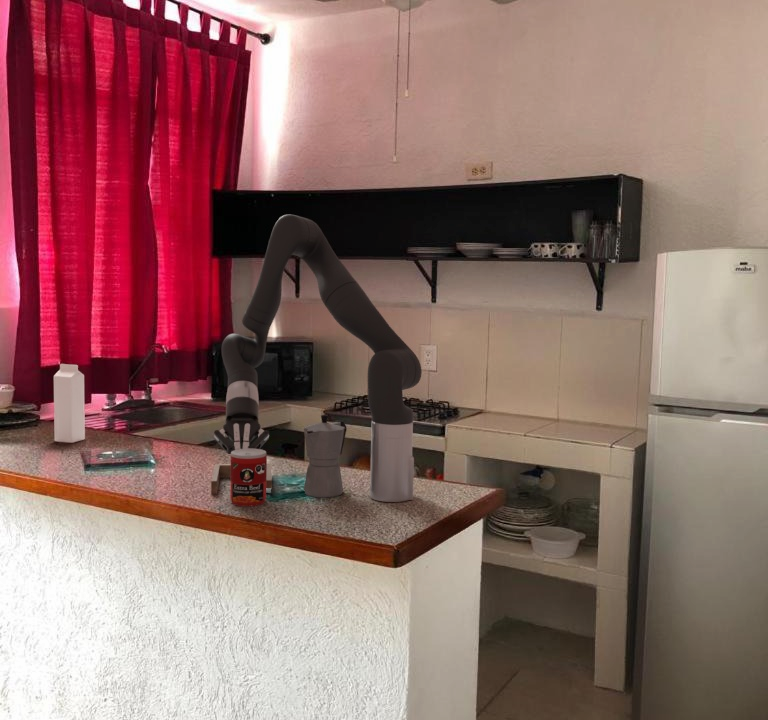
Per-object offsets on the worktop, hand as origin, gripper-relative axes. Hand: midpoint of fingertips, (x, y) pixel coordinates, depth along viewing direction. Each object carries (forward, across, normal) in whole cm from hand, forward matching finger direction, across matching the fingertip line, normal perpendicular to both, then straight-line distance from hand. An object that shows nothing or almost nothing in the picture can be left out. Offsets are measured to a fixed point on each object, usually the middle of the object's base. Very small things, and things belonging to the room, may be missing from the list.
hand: (241, 467), depth 192 cm
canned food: (+8, +2, +1) cm, 9 cm away
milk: (-42, -50, +51) cm, 82 cm away
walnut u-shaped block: (-2, 0, +11) cm, 11 cm away
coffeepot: (+3, +19, +6) cm, 20 cm away
